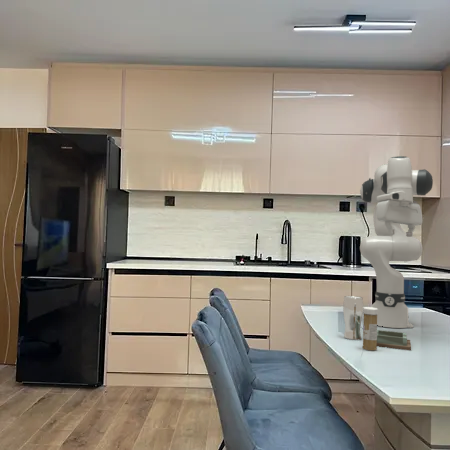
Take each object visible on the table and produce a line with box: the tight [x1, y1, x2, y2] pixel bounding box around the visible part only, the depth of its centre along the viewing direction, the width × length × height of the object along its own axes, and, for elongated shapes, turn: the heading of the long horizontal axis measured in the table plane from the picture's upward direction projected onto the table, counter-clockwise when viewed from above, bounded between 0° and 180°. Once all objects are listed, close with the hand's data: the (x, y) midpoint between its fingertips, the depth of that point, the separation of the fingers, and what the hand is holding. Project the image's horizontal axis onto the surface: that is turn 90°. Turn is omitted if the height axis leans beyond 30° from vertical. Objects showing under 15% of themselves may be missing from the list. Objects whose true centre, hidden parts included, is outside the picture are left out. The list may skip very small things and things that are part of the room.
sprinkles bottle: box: [362, 306, 378, 351], centre depth 138 cm, size 5×5×13 cm
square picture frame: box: [376, 329, 412, 351], centre depth 146 cm, size 13×13×4 cm
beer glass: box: [342, 295, 364, 341], centre depth 154 cm, size 7×7×15 cm
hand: (400, 235), depth 154 cm, fingers open, 8 cm apart
